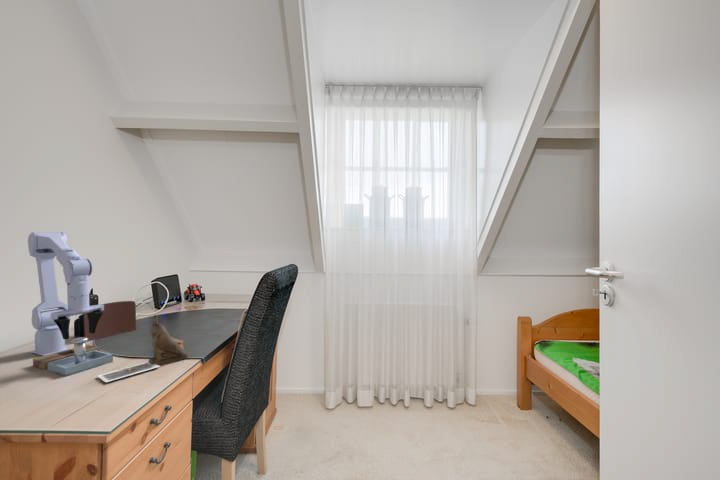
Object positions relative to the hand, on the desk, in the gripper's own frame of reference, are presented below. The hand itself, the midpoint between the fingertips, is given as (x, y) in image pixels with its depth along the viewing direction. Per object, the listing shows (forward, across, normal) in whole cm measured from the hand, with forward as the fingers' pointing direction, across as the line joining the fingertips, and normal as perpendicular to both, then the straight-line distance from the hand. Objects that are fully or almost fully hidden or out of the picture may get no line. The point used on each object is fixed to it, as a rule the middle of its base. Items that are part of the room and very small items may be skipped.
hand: (79, 335), depth 119 cm
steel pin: (+9, -1, -3) cm, 9 cm away
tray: (+9, -1, -3) cm, 10 cm away
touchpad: (+10, +2, -24) cm, 26 cm away
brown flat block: (+9, 0, +7) cm, 12 cm away
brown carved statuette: (+9, +15, -25) cm, 30 cm away
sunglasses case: (+10, +23, -16) cm, 29 cm away
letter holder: (+10, +24, +29) cm, 39 cm away
